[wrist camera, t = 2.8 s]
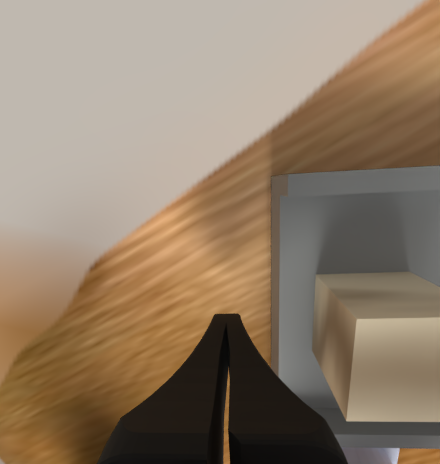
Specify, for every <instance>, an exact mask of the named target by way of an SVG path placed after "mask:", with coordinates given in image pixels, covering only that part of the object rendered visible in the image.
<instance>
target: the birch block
mask: <svg viewBox="0 0 440 464" xmlns="http://www.w3.org/2000/svg"><path fill="white" fill-rule="evenodd" d="M312 352H313V354H314V356H315V358H316V360H317V362H318V364H319V366H320V368H321V370H322V372H323V374H324V376H325V378H326V380H327V383H328V385H329V387H330V389H331V391H332V393H333V395H334V397H335V399H336V401H337V403H338V405H339V407H340V409H341V411H342V413H343V416H344V418H345V420H346V421H369V422H440V287H439V286H437V285H435V284H433V283H431V282H429V281H427V280H425V279H423V278H421V277H419V276H417V275H415V274H413V273H411V272H383V273H350V274H317V275H316V279H315V299H314V319H313V339H312Z"/></svg>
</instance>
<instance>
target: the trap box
mask: <svg viewBox="0 0 440 464" xmlns="http://www.w3.org/2000/svg"><path fill="white" fill-rule="evenodd" d="M383 272H411V273H413V274H415V275H417V276H419V277H421V278H423V279H425V280H427V281H429V282H431V283H433V284H435V285H437V286H439V287H440V165H439V166H422V167H404V168H386V169H369V170H351V171H333V172H316V173H298V174H285V175H277V176H271V369H272V370H273V371H274V373H275V374H276V375H277V376H278V377H279V378H280V379H281V380H282V381H283V382H284V383H285V384H286V385H287V386H288V388H289V389H290V390H291V391H292V392H293V393H295V394H296V395H297V396H298V397H299V398H300V399H301V400H302V401H303V402H304V403H306V404H307V405H308V406H309V407H311V408H312V409H313V410H314V411H316V412H317V413H318V414H319V415H321V416H322V417H323V418H324V419H325V420H326V421H327V423H328V425H329V426H330V428H331V430H332V432H333V433H334V435H335V437H336V439H337V441H338V443H339V444H340V446H341V447H356V448H426V449H440V422H369V421H346V420H345V418H344V416H343V413H342V411H341V409H340V407H339V405H338V403H337V401H336V399H335V397H334V395H333V393H332V391H331V389H330V387H329V385H328V383H327V380H326V378H325V376H324V374H323V372H322V370H321V368H320V366H319V364H318V362H317V360H316V358H315V356H314V354H313V352H312V339H313V319H314V299H315V279H316V275H317V274H350V273H383Z"/></svg>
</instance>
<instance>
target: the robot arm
mask: <svg viewBox="0 0 440 464" xmlns="http://www.w3.org/2000/svg"><path fill="white" fill-rule="evenodd" d="M228 367H229V375H230V395H229V425H228V434H229V450H230V464H397V461H398V455H399V450H400V448H356V447H341V446H340V444H339V443H338V441H337V439H336V437H335V435H334V433H333V432H332V430H331V428H330V426H329V425H328V423H327V421H326V420H325V419H324V418H323V417H322V416H321V415H319V414H318V413H317V412H316V411H314V410H313V409H312V408H311V407H309V406H308V405H307V404H306V403H304V402H303V401H302V400H301V399H300V398H299V397H298V396H297V395H296V394H295V393H293V392H292V391H291V390H290V389H289V388H288V386H287V385H286V384H285V383H284V382H283V381H282V380H281V379H280V378H279V377H278V376H277V375H276V374H275V373H274V371H273V370H272V369H271V368H270V367H269V365H268V364H267V363H266V362H265V360H264V359H263V358H262V356H261V355H260V353H259V352H258V350H257V349H256V347H255V346H254V344H253V343H252V341H251V339H250V337H249V335H248V334H247V332H246V330H245V328H244V325H243V323H242V321H241V317H240V315H239V314H215V315H214V316H213V319H212V321H211V323H210V325H209V327H208V329H207V331H206V332H205V334H204V336H203V337H202V339H201V341H200V342H199V344H198V345H197V346H196V348H195V349H194V351H193V352H192V353H191V355H190V356H189V357H188V359H187V360H186V361H185V362H184V363H183V365H182V366H181V367H180V368H179V369H178V370H177V371H176V372H175V373H174V374H173V376H172V377H171V378H170V379H169V380H168V381H167V382H166V383H164V384H163V385H162V386H161V387H160V388H159V389H158V390H157V391H155V392H154V393H153V394H152V395H151V396H150V397H149V398H147V399H146V400H145V401H143V402H142V403H141V404H139V405H138V406H137V407H135V408H134V409H133V410H131V411H130V412H128V413H127V414H126V415H124V416H123V417H121V419H120V420H119V422H118V424H117V426H116V427H115V429H114V431H113V432H112V434H111V436H110V438H109V439H108V441H107V443H106V446H105V448H104V450H103V452H102V454H101V456H100V458H99V461H98V463H97V464H223V444H224V411H225V400H226V389H227V378H228Z"/></svg>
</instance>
